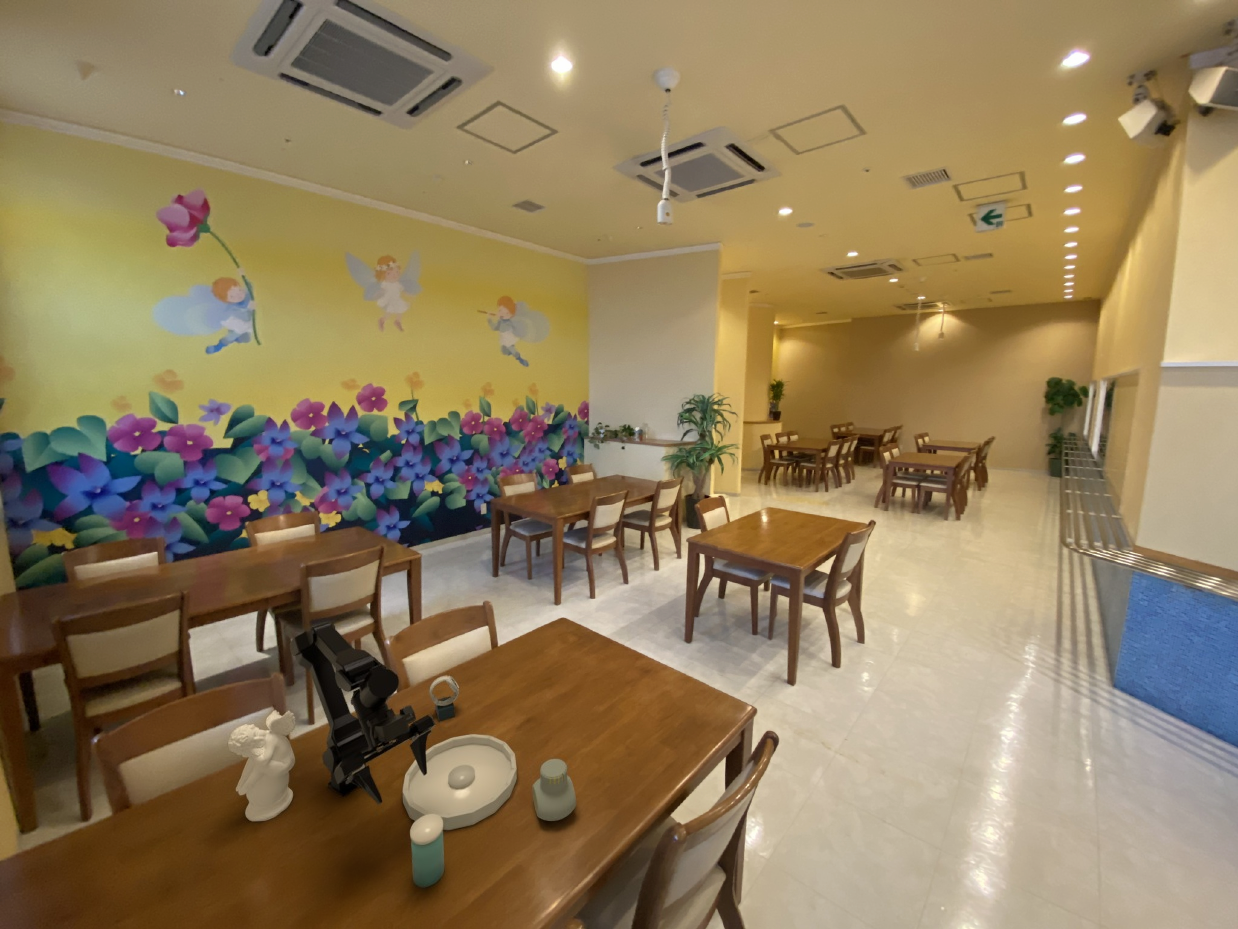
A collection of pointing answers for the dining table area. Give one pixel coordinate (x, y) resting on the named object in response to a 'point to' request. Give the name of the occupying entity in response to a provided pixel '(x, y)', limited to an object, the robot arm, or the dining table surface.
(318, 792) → the dining table surface
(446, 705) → the watch
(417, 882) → the bead jar
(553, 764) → the air freshener
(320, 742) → the dining table surface
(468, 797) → the groove tray
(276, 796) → the cherub figurine
